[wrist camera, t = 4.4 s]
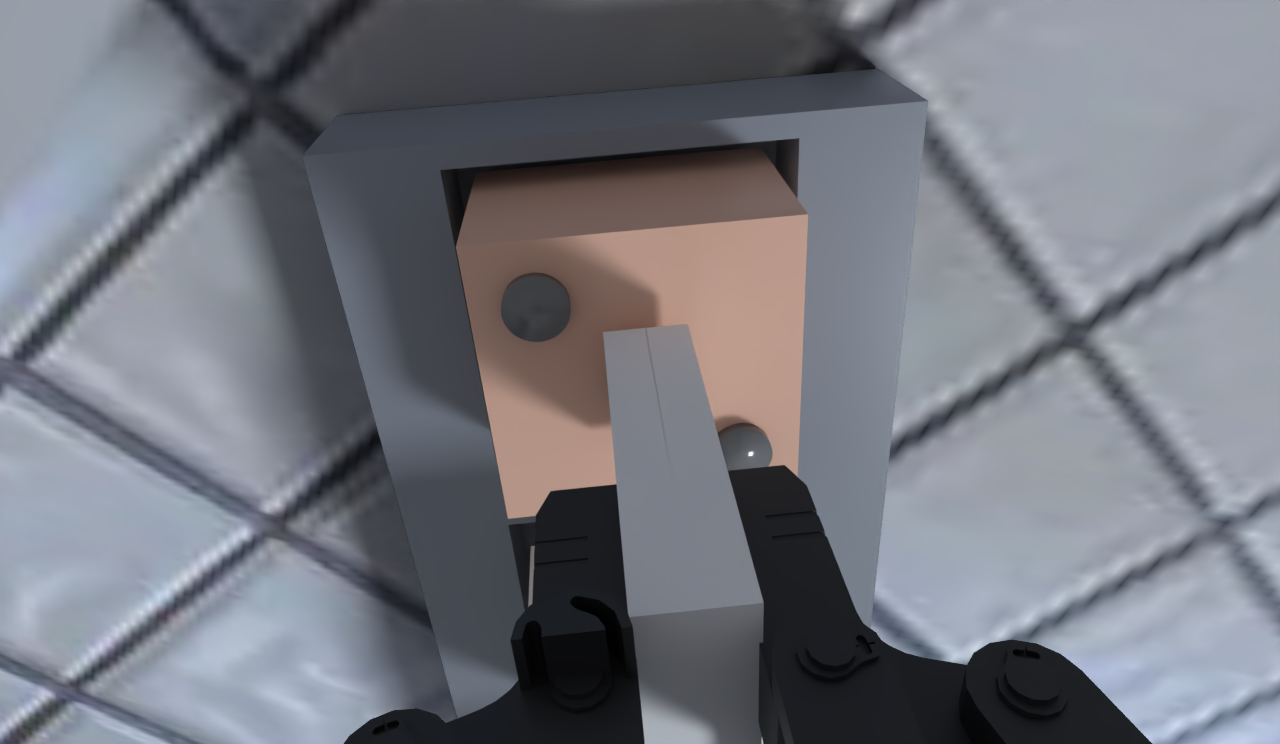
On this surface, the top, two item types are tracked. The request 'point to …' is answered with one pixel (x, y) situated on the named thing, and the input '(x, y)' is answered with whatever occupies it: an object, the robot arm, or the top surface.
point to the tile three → (632, 304)
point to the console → (442, 335)
